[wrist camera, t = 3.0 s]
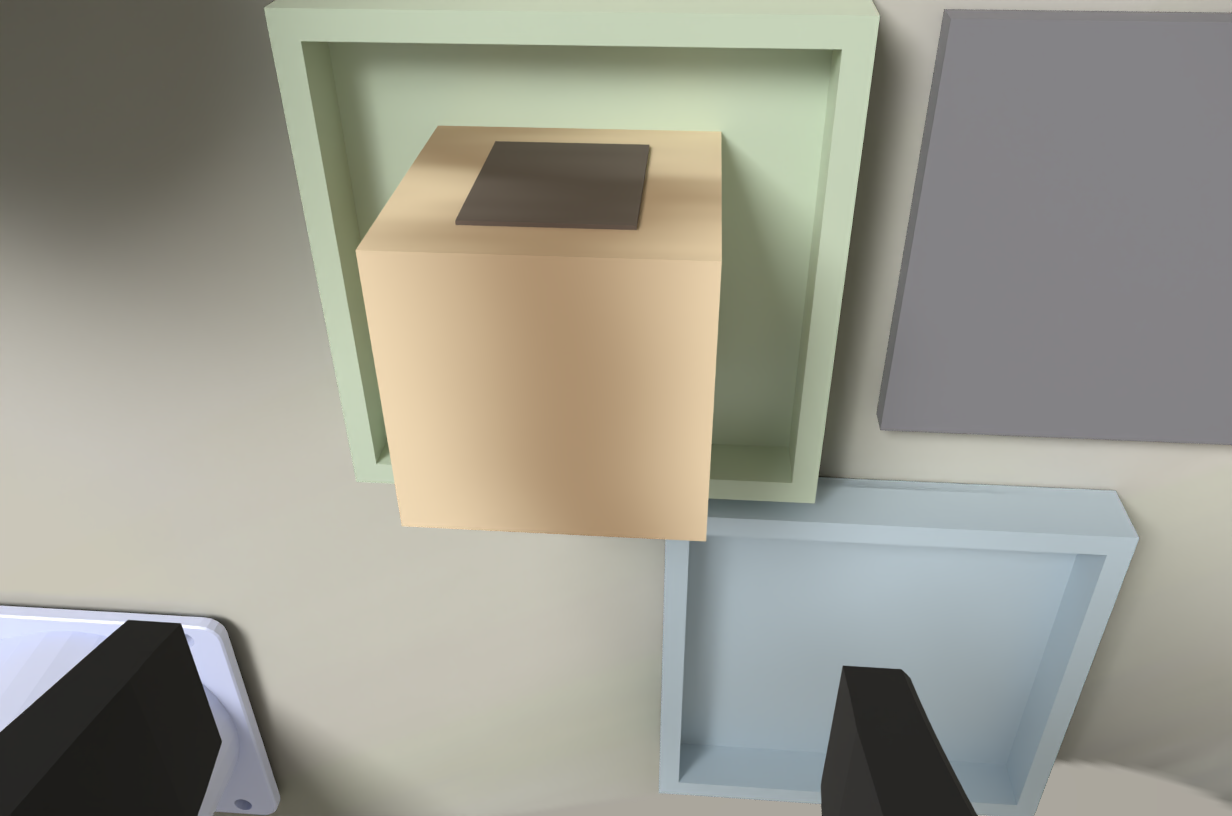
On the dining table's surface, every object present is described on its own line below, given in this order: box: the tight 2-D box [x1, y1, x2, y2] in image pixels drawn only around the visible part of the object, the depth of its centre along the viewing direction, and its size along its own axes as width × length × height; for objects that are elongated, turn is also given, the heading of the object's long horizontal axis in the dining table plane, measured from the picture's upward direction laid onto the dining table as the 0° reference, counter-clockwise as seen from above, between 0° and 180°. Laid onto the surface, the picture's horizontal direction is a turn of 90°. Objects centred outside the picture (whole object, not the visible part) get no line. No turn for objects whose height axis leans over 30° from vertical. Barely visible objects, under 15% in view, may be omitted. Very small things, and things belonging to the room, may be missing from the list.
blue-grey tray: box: [659, 477, 1139, 816], centre depth 24 cm, size 10×10×2 cm
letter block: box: [355, 126, 722, 541], centre depth 17 cm, size 5×5×5 cm
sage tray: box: [264, 0, 880, 503], centre depth 19 cm, size 10×10×2 cm
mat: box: [877, 9, 1232, 445], centre depth 18 cm, size 7×8×1 cm
